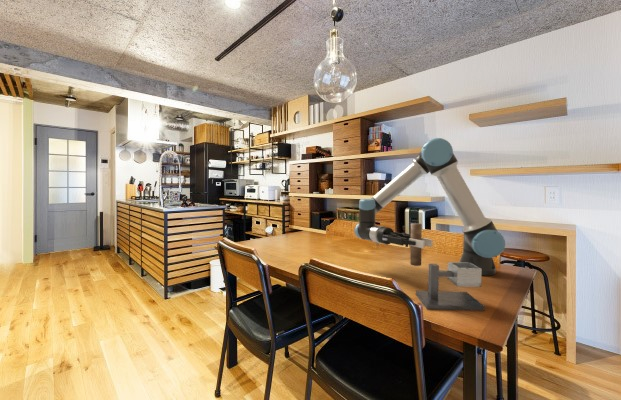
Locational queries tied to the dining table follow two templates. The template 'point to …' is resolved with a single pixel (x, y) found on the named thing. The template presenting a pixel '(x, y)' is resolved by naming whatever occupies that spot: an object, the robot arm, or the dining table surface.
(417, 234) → the walnut rail
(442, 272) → the cup bracket
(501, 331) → the dining table surface
